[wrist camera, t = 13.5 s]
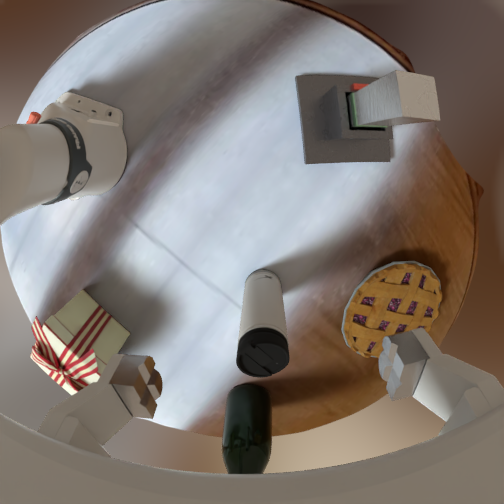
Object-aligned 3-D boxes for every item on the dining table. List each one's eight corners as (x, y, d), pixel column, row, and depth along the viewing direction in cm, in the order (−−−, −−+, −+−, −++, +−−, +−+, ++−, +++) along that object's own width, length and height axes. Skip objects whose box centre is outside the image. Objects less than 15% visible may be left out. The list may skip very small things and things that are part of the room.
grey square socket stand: (304, 163, 41) (318, 167, 31) (295, 78, 36) (305, 56, 26) (386, 161, 40) (419, 166, 30) (378, 80, 35) (408, 65, 25)
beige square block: (342, 129, 34) (401, 117, 18) (339, 99, 32) (394, 67, 16) (370, 129, 34) (441, 121, 17) (367, 100, 32) (434, 75, 16)
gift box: (140, 322, 53) (105, 379, 37) (110, 363, 58) (81, 413, 42) (78, 271, 49) (28, 313, 33) (58, 321, 55) (20, 362, 39)
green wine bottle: (220, 400, 60) (201, 523, 29) (239, 376, 57) (226, 516, 26) (257, 413, 62) (254, 531, 31) (280, 391, 58) (285, 523, 28)
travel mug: (264, 260, 47) (265, 333, 28) (288, 287, 49) (301, 366, 30) (236, 281, 49) (222, 359, 30) (260, 306, 50) (259, 389, 32)
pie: (410, 348, 54) (418, 362, 49) (325, 346, 54) (329, 362, 49) (447, 261, 46) (460, 271, 42) (356, 246, 46) (365, 256, 41)
